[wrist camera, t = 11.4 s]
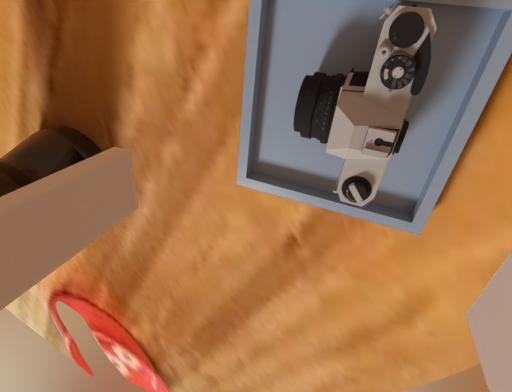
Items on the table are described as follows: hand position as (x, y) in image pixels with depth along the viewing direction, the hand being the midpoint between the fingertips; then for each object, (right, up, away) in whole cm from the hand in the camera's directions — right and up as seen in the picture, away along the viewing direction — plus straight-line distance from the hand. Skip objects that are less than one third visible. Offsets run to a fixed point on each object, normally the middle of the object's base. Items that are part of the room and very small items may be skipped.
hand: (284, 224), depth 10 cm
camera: (+7, +9, +14) cm, 18 cm away
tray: (+7, +9, +15) cm, 19 cm away
